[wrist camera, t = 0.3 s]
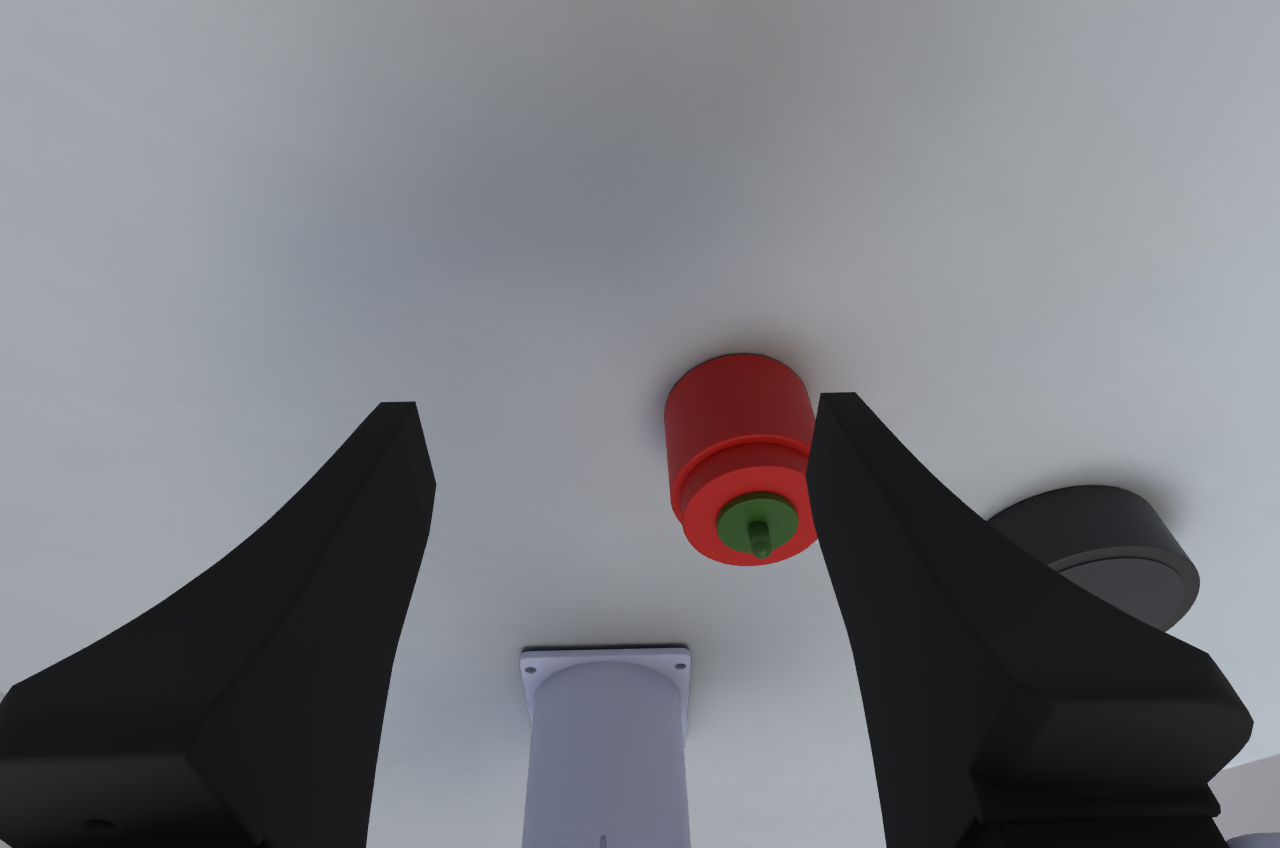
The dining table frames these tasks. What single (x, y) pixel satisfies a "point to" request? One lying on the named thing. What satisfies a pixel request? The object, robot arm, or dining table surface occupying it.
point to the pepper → (741, 459)
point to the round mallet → (1107, 549)
